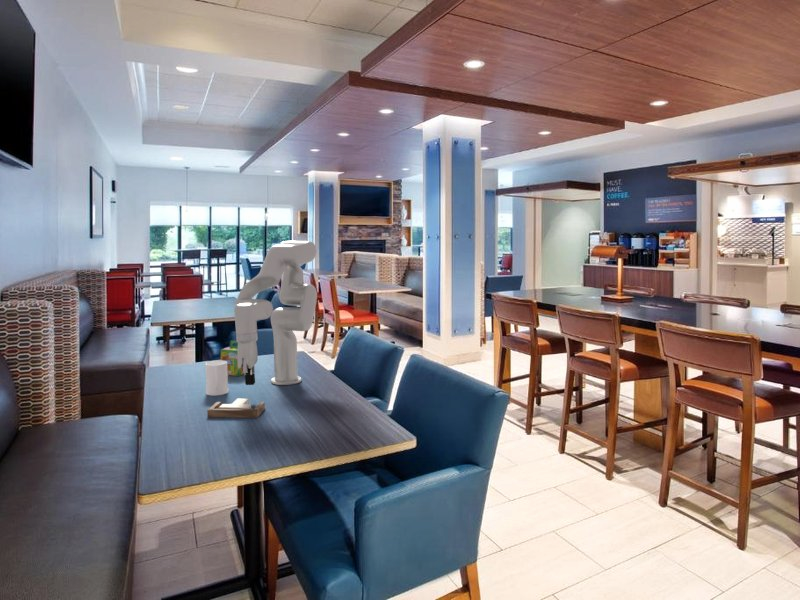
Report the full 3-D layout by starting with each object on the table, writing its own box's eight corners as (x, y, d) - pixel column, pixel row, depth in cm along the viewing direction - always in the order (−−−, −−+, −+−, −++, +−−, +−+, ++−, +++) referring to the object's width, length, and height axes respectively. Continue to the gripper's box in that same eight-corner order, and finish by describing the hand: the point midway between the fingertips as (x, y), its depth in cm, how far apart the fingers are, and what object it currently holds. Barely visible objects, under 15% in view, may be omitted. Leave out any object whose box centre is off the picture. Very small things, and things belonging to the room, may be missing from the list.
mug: (227, 397, 200) (226, 366, 198) (203, 398, 198) (202, 367, 196) (229, 388, 211) (228, 359, 210) (207, 390, 209) (205, 360, 208)
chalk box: (220, 375, 231) (219, 342, 230) (230, 370, 240) (229, 338, 239) (240, 376, 230) (238, 343, 228) (249, 371, 239) (248, 339, 237)
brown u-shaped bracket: (217, 408, 186) (216, 401, 186) (264, 408, 186) (264, 402, 186) (207, 417, 177) (207, 410, 177) (257, 417, 177) (257, 410, 177)
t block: (229, 406, 189) (229, 398, 189) (257, 406, 189) (256, 398, 188) (219, 415, 179) (219, 407, 179) (248, 416, 179) (248, 407, 179)
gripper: (243, 331, 200) (246, 377, 203) (230, 342, 185) (233, 391, 189) (262, 331, 200) (265, 377, 203) (251, 341, 185) (254, 391, 189)
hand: (250, 384), depth 196 cm, fingers closed
